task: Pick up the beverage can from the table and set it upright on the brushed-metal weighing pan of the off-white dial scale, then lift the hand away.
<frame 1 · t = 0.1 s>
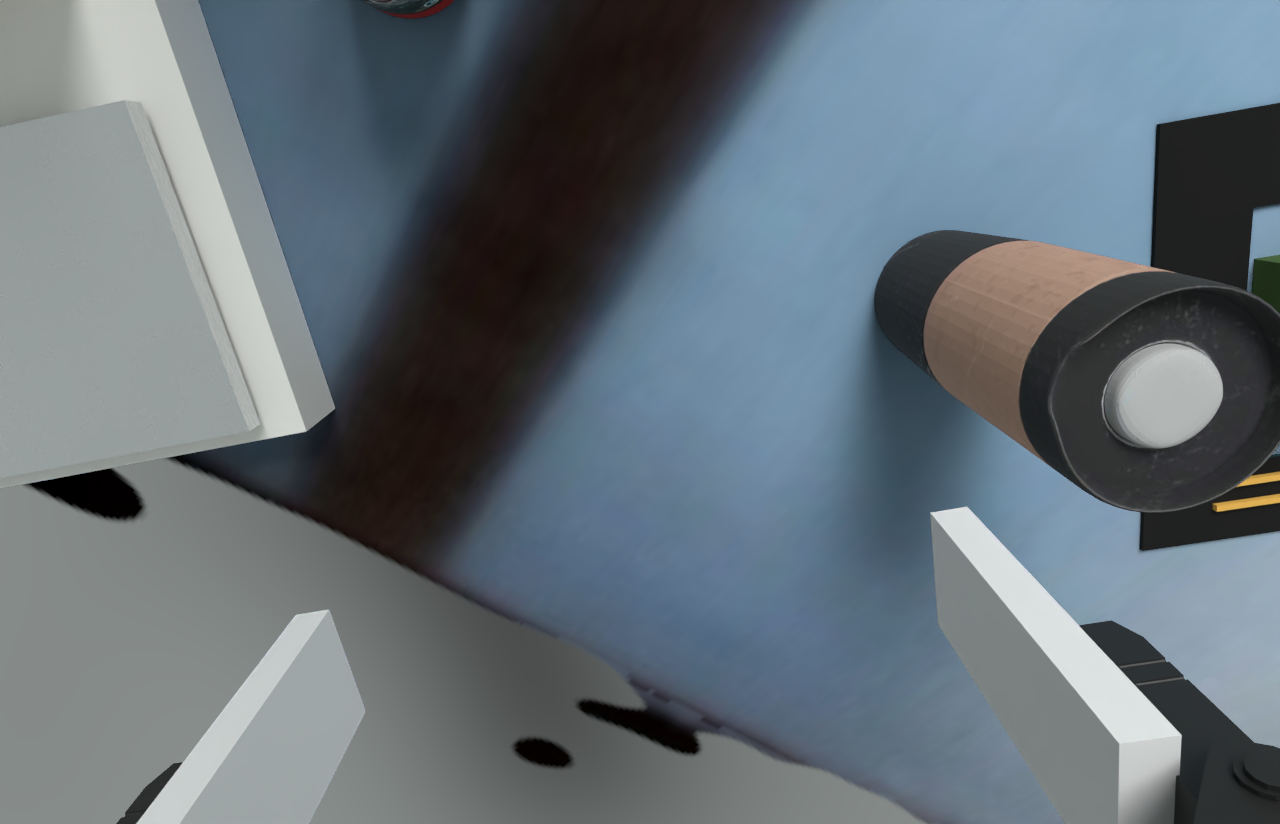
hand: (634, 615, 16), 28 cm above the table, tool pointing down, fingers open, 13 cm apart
scale: (57, 201, 41), on the table
travel mug: (936, 294, 42), on the table
weighing pan: (25, 310, 37), point 5 cm above the table, slide at 1.0 cm
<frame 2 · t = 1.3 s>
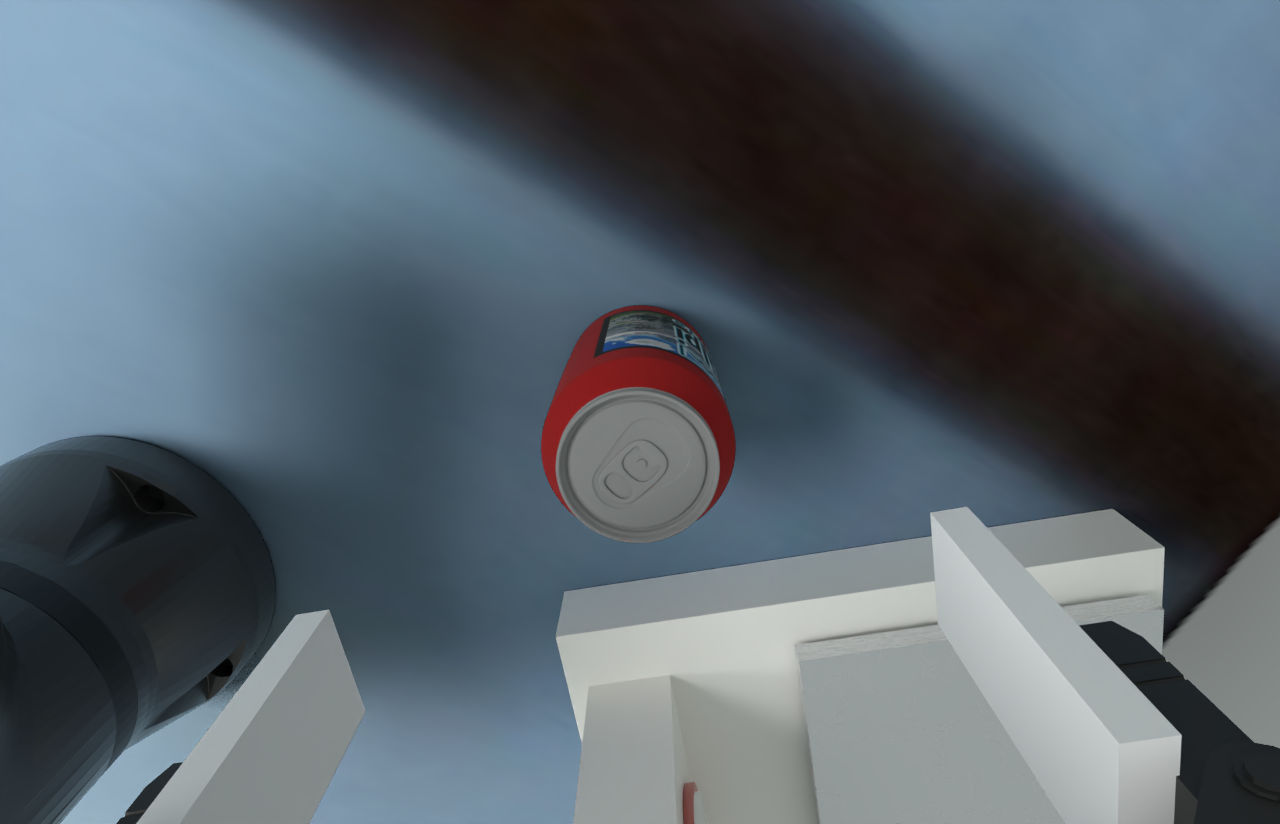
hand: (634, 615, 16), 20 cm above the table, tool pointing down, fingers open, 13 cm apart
scale: (851, 724, 42), on the table
weighing pan: (980, 784, 37), point 5 cm above the table, slide at 1.0 cm
beverage can: (640, 370, 36), on the table
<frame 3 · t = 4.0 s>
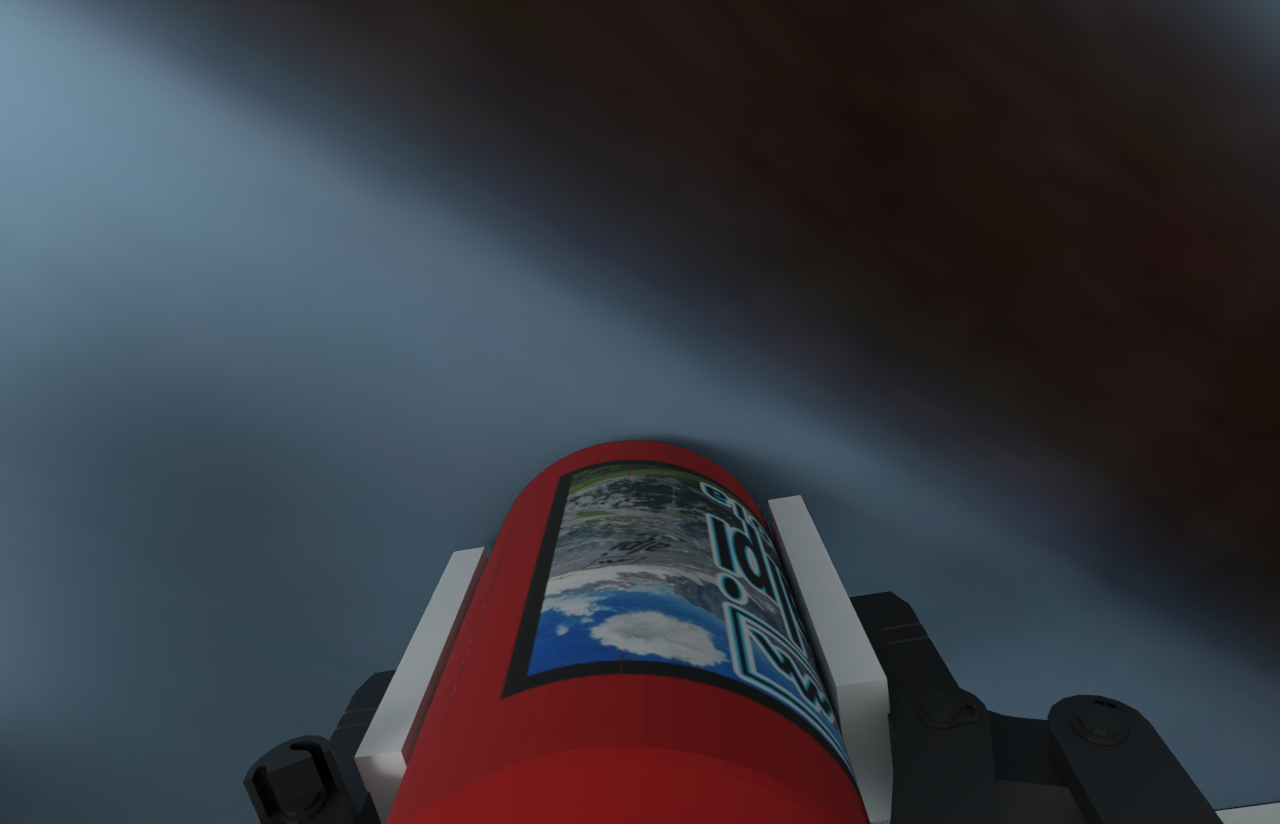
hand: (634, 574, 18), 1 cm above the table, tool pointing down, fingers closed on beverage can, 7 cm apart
beverage can: (635, 549, 19), on the table, touching gripper
when the fingers open (9 cm above the table, at t = 10.2 s): beverage can drops 2 cm, resting on weighing pan.
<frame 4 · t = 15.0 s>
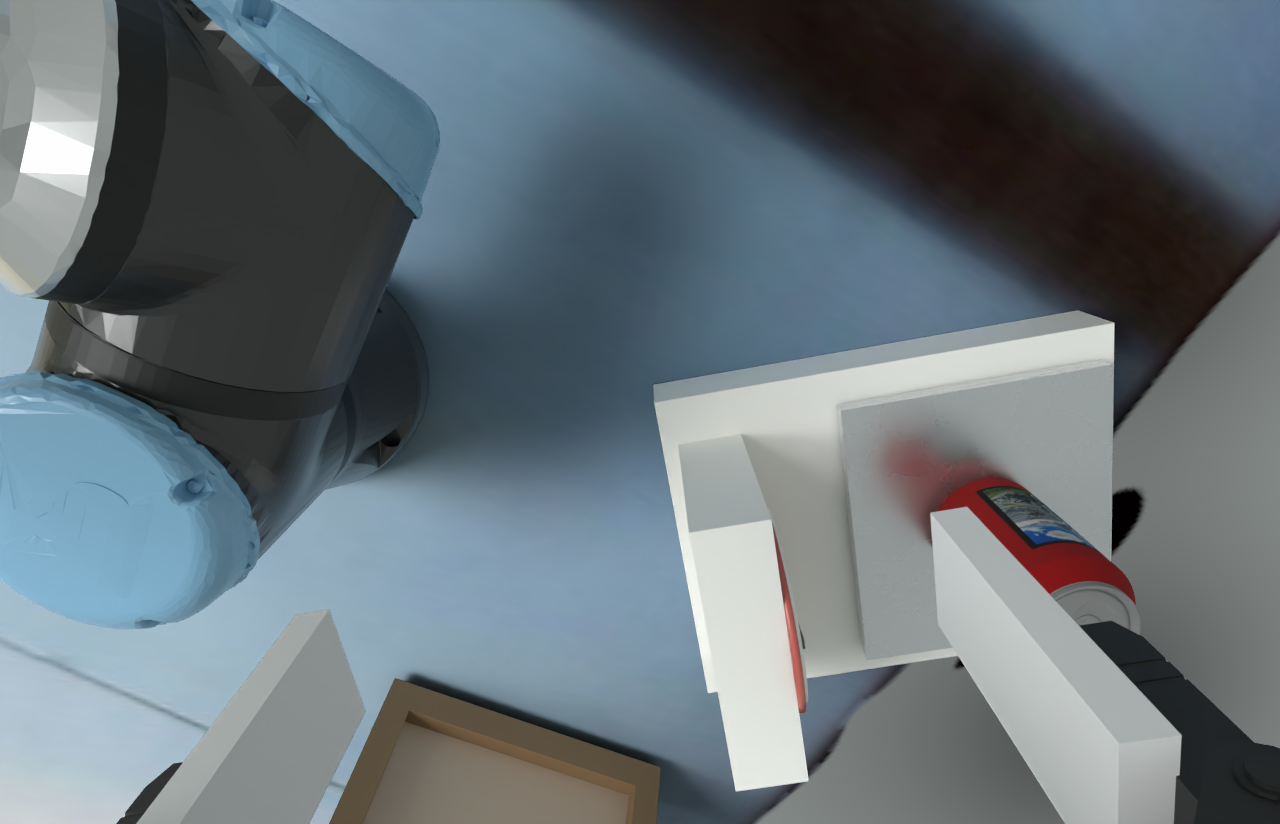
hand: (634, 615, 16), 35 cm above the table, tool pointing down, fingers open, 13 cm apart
scale: (876, 497, 53), on the table
photo frame: (502, 781, 62), on the table
weighing pan: (977, 518, 48), point 5 cm above the table, slide at 1.1 cm, touching beverage can
beverage can: (978, 519, 48), point 5 cm above the table, touching weighing pan
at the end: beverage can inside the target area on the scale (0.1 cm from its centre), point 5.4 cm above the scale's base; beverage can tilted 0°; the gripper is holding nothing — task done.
